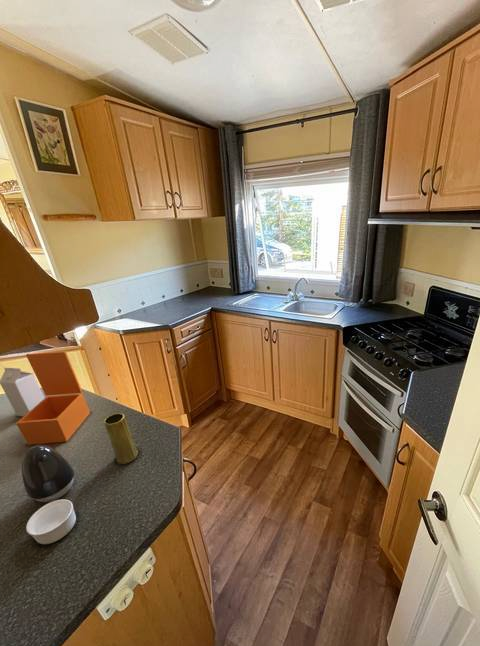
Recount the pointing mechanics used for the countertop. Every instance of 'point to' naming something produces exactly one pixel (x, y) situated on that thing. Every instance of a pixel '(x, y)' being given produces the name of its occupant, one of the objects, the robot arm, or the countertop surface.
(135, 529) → the countertop surface
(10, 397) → the milk carton
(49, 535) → the ramekin
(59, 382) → the lid
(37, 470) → the dark rounded cone
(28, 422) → the box
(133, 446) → the vase
